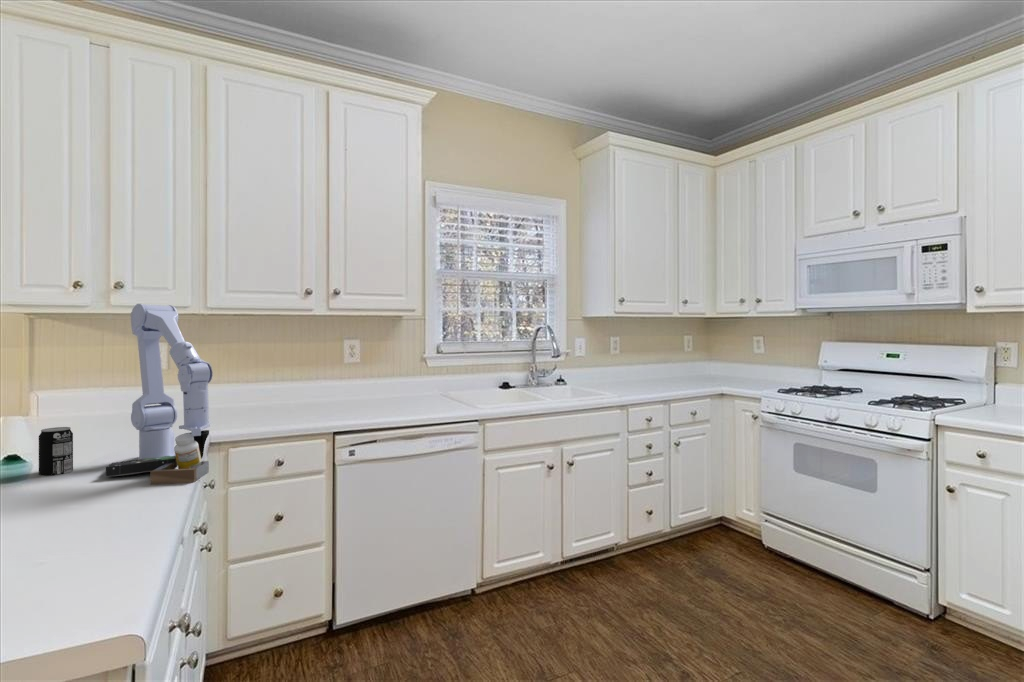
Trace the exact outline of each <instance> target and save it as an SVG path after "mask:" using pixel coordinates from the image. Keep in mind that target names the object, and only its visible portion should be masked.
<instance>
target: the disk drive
mask: <svg viewBox="0 0 1024 682" xmlns="http://www.w3.org/2000/svg"><path fill="white" fill-rule="evenodd" d="M173 462H175V469H177V468H178V464H177V460H176V456H165V457H157V458H148V459H140V460H137V459H135V460H134V459H133V460H132V459H131V460H123V461H116V462H112V463H110V464H108V465H107V466H105V477H107V478H108V477H118V476H119V477H120V476H129V475H137V474H141V473H149V472H151V471H153V470H155V469H157V468H159V467H161V466H163V465H165V464H167V463H173Z"/></svg>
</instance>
